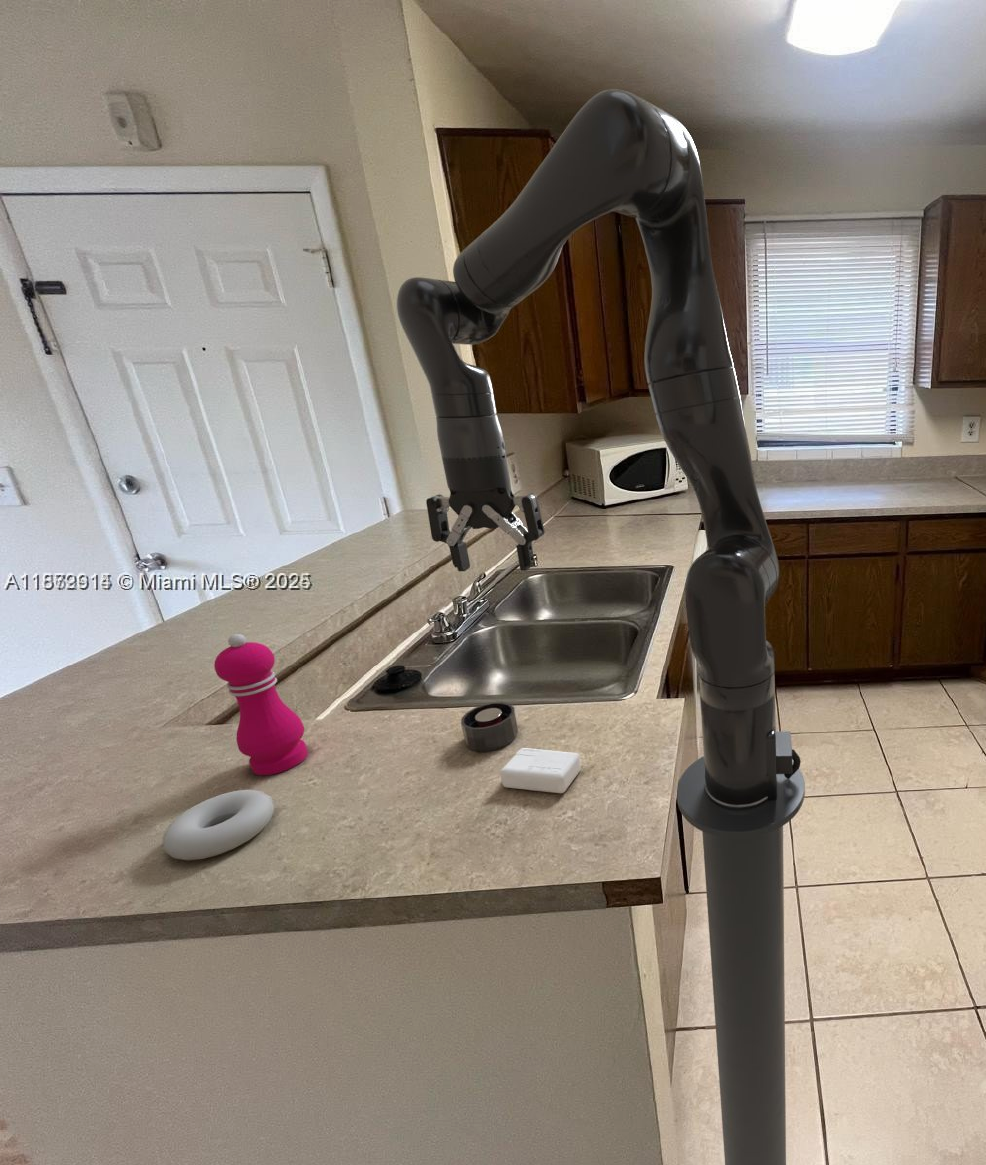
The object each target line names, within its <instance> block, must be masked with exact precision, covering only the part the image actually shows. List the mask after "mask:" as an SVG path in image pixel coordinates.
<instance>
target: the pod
mask: <svg viewBox="0 0 986 1165" xmlns="http://www.w3.org/2000/svg"><path fill="white" fill-rule="evenodd" d="M501 715H502V711H501V710H500V709H498V708H490V709H485V710H483V711H481V712H479V713H478V714H477V715H476V716H475V720H476V722H478V727H479V728H483V727H488V726H493V725H495V724H497V723H500V722H502V719H501Z"/></svg>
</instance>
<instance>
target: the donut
mask: <svg viewBox="0 0 986 1165" xmlns="http://www.w3.org/2000/svg"><path fill="white" fill-rule="evenodd" d="M274 813H275V804H274V800H273V798H272V797H271V796H270V795H268V794H267V793H266V792H263V791H261V790H256V789H255V790H254V789H239V790H234V791H229V792H225V793H222V794H219V795H216V796H214V797H211V798H207V799H206V800H204V801H201V802H200V803H197V804H195V805H193V806H192V807H190V808H189V809H187V810H185V811H184V812H182V813H181V814H180V815H179V816H177V817H176V818H175V819H174V820H173V821H172V822H171V823H170V824H169V825H168V827H167V828H166V830H165V832H164V833H163V835H162V849H163V851H164V852H165V853H166V854H168V855H169V856H170V857H171V858H173V859H175V860H183V861H197V860H205V859H207V858H211V857H216V856H219V855H222V854H224V853H226V852H229V851H232V850H234V849H236V848H237V847H240V846H242V845H243V844H245V843H246V842H249V841H250V840H251V839H253V838H254V837H255V836H257V835H258V834H260V832H262V830H264V828H265V827H266V826H267V825H268V824H269V823H270V822H271V819H272V817H273V815H274Z"/></svg>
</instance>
